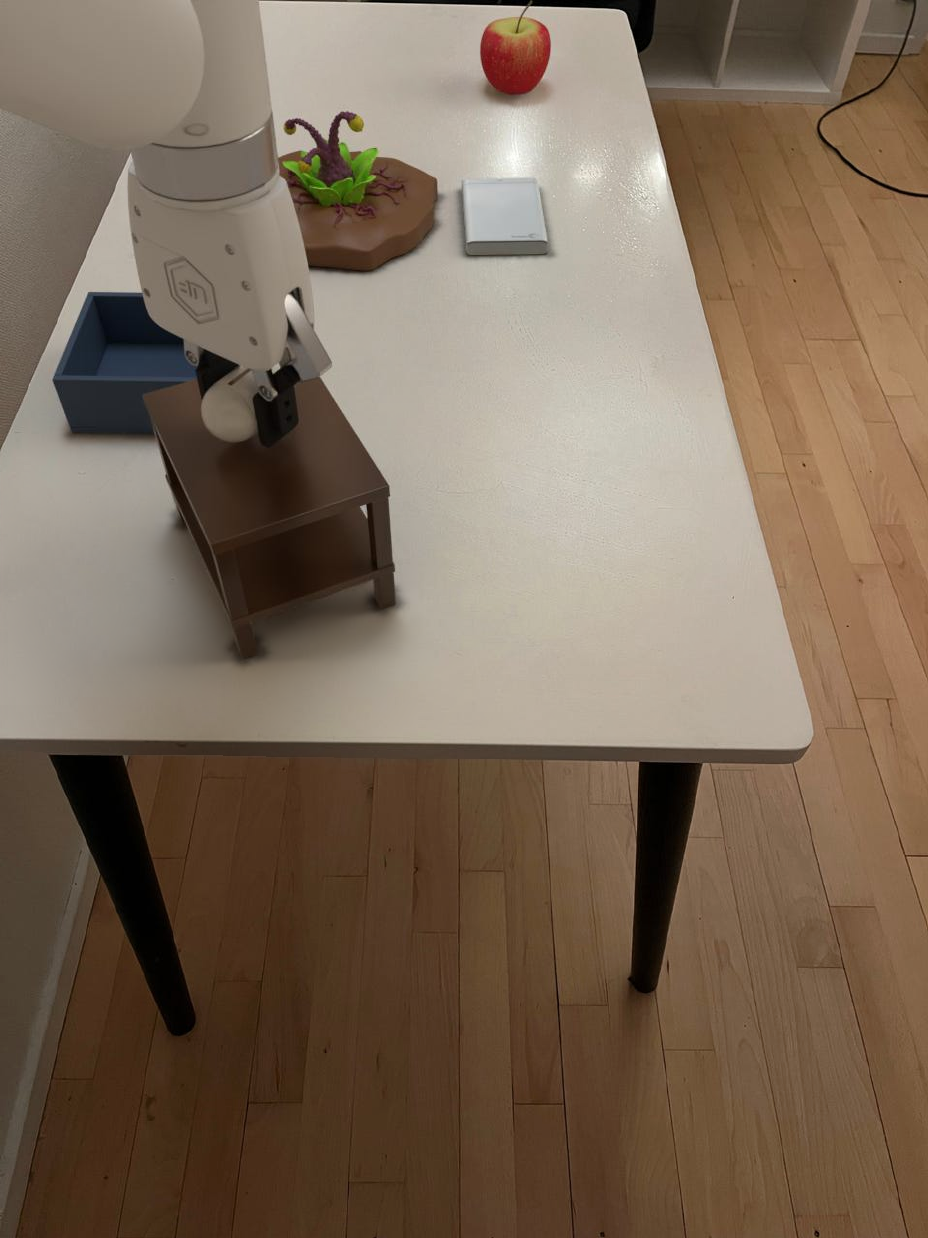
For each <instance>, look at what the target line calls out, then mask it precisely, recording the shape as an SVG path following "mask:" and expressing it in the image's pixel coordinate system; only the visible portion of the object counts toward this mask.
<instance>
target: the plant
mask: <svg viewBox="0 0 928 1238" xmlns="http://www.w3.org/2000/svg"><path fill="white" fill-rule="evenodd" d="M342 120H345V121H346V123H347V125H348V127H349V129H350V130H351V131H352V132H355V133H360V132H363V129H364V126H365V122H364V120H363V119H362V117H361V116H360V115H357V113H354V112H352V111H351V112H350V111H348V110H346V111H340V112H339V113H338V114H336V115H335V116H334V119H333V120H332V122H331V124H330V127H329V130H328V131H329V132H328V138H327V139H326V138H324V137H323V136H322V134H321V133H320V132H319V130H318V129H316V127H315V126H313V124H311V123H309V122H308V121H306V120H304V119H302V118H299V117H295V118H291V119H290V118H289V119H288V120H285V122H284V124H283V131H284V133H285V134H286V135H288V136H293V135H294V134H295V133H296V131H297V125H298V126H300V127H303V129H304V130H306V131H308V133H309V135H310V137H311V139H313V140H314V142H315V145H316V147H313V148H312V149H310V150H309V151H306V150H305V151H304V150H296V151H293V152H289V153H286V154H284V155H283V154H282V155H281V156H278V162H279V170H280V173H279V175H280V176H281V177H282V178H284V179H285V180H286V182H287V185H288V188H289V191H290V194H291V198H292V201H293V204H294V208H295V211H296V215H297V218H298V222H299V226H300V230H301V234H302V239H303V243H304V248H305V253H306V257H307V263H308V267H322V268H326V267H327V268H335V269H336V268H337V269H345V270H355V271H366V272H367V271H373V270H375V269H377V268H379V267H380V266H382V265H383V264H384V263H386V262H388V261H390V260H391V259H393V258H396V257H399V256H402V255H405V254H407V253H409V252H410V251H412V250H413V249H414V248H416V246H418V245H419V243H420V242H421V241H422V240H423V238H424V237H425V236H426V235H427V233H429V231H430V230H432V228H433V226H434V223H435V205H434V203H435V202H436V200H437V199H438V197H439V191H438V179H437V177H435V176H433V175H430V174H428V173H427V172H425V171H423V170H421V169H419V168H417V167H415V166H412V165H410V164H409V163H406V162H404V161H402V160H400V159H397V158H394V157H389V156H388V157H386V156H378V155H379V152H380V151H379V148H378V147H371V148H367V149H365V150H362V151H361V150H357V151H350V150H349V147H348V145H347V144H346V142H344V141H341V142H340V137H339V133H340V131H339V128H340V127H341V121H342Z"/></svg>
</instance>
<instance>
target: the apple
mask: <svg viewBox="0 0 928 1238" xmlns="http://www.w3.org/2000/svg"><path fill="white" fill-rule="evenodd" d="M533 3H534V2H533V0H530V1H529V2H528V3H527V5H526V6H525V8H524V9H523V10H522V12H521V14H520V16H513V17H511V16H510V17H504V18H499V19H495V20H493V21H491V22H490V23H488V25H487V26H486V27H485V29H484V30H483V32H482V35H481V40H480V46H479V56H480V57H479V58H480V63H481V67H482V70H483V73H484V76H485V77H486V79H487V81H488V83H489V84H490V86H492V87H493V88H494V89H495V90H497V91H498V92H500V93H502V94H505V95H509V96H519V95H524V94H527V93H529V92H531V91H533V90H534V89H535V88H536V87H537V86H538V84H540V82H541V80H542V79H543V77H544V75H545V73H546V71H547V68H548V66H549V61H550V58H551V51H552V41H551V35H550V32H549V28H548V27H547V25H545V24H544V23H542V22H541V21H538V20H536V19H534V18H531V17H526V16H524V14H525V13H526V11H527V10H528V9H529V7H530V6H531V5H532V4H533Z"/></svg>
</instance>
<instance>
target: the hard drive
mask: <svg viewBox="0 0 928 1238" xmlns="http://www.w3.org/2000/svg"><path fill="white" fill-rule="evenodd" d="M461 199H462V200H461V201H462V213H463V224H464V225H463V226H464V234H465V237H464V238H465V248H466V249H465V251H466V254H468V255H471V256H482V255H483V256H493V255H494V256H496V255H498V256H499V255H505V256H506V255H543V254H547V253H548V250H549V241H548V234H547V228H546V223H545V217H544V210H543V204H542V198H541V192H540V187H539V181H538V178H537V177H481V178H480V177H479V178H478V177H477V178H475V177H474V178H464V179H462V180H461Z"/></svg>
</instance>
